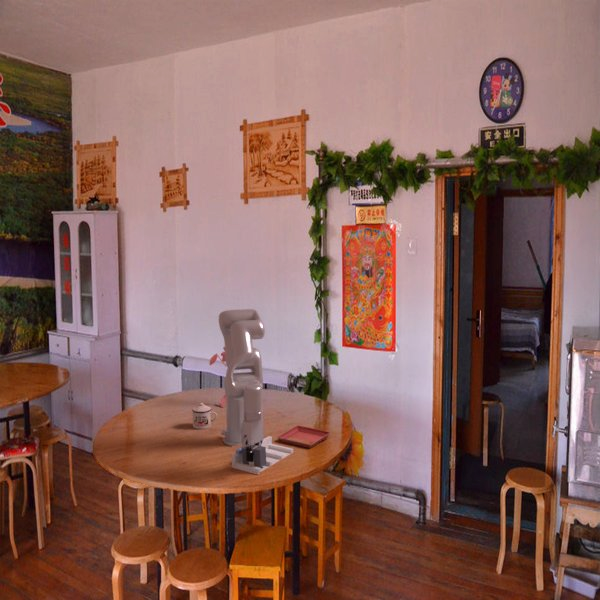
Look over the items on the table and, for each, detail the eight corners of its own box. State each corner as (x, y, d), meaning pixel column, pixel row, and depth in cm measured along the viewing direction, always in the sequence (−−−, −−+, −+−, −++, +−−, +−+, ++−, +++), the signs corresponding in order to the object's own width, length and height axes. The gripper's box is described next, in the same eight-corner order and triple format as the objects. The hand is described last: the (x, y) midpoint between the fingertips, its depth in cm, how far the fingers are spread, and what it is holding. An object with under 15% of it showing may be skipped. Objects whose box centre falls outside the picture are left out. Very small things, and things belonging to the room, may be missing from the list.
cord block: (242, 463, 241) (241, 446, 241) (248, 460, 245) (247, 443, 244) (260, 467, 237) (259, 450, 236) (266, 463, 240) (265, 446, 239)
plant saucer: (311, 451, 258) (311, 444, 258) (276, 443, 268) (276, 436, 267) (330, 438, 274) (330, 432, 273) (297, 431, 283) (297, 425, 283)
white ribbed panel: (231, 467, 240) (231, 452, 240) (268, 446, 263) (268, 433, 262) (258, 474, 234) (257, 459, 233) (293, 452, 256) (293, 439, 255)
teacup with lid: (191, 429, 285) (191, 406, 283) (193, 423, 294) (192, 400, 292) (216, 429, 286) (216, 405, 284) (217, 423, 295) (217, 400, 293)
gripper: (257, 408, 247) (258, 450, 250) (232, 419, 233) (233, 464, 236) (272, 411, 244) (272, 454, 246) (248, 423, 229) (248, 468, 232)
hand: (253, 458), depth 241 cm, fingers closed on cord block, 4 cm apart
